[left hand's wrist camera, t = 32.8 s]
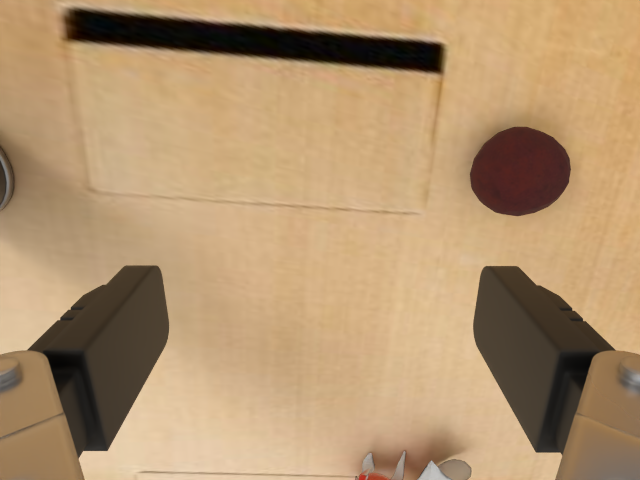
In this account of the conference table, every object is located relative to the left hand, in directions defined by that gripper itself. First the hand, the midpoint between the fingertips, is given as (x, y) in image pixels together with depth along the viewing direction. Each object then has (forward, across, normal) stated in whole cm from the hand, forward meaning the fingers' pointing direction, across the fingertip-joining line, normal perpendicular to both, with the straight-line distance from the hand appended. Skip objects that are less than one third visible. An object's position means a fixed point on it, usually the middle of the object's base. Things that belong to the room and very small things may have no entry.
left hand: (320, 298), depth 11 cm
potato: (+31, -17, +3) cm, 35 cm away
